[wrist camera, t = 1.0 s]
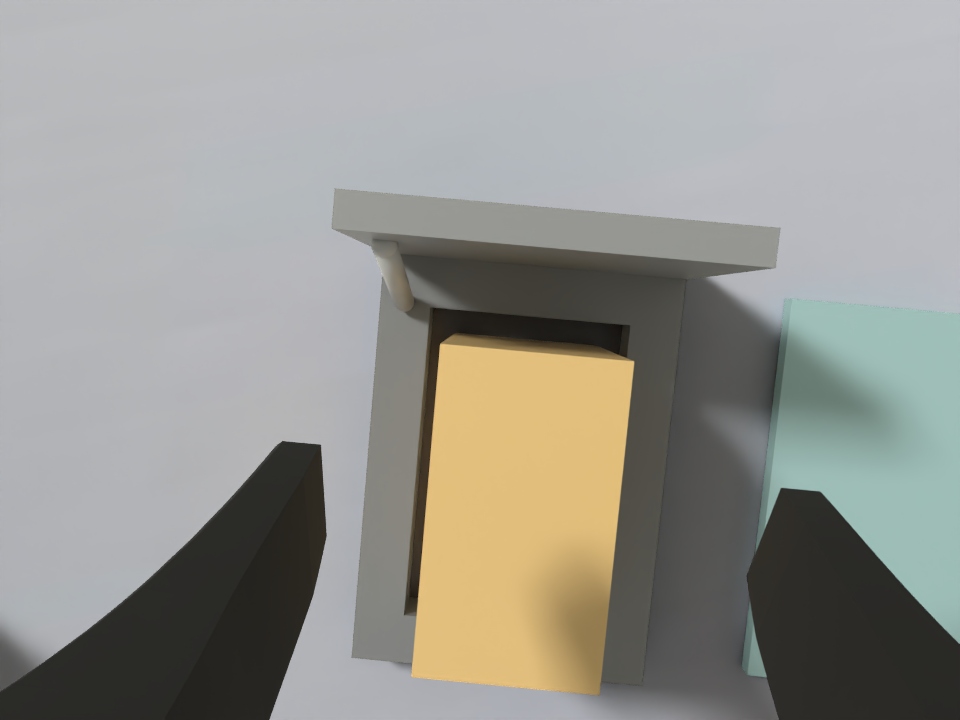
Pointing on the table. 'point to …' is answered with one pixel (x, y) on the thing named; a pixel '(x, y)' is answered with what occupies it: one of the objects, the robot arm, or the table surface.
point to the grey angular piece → (538, 293)
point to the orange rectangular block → (521, 513)
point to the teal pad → (873, 439)
